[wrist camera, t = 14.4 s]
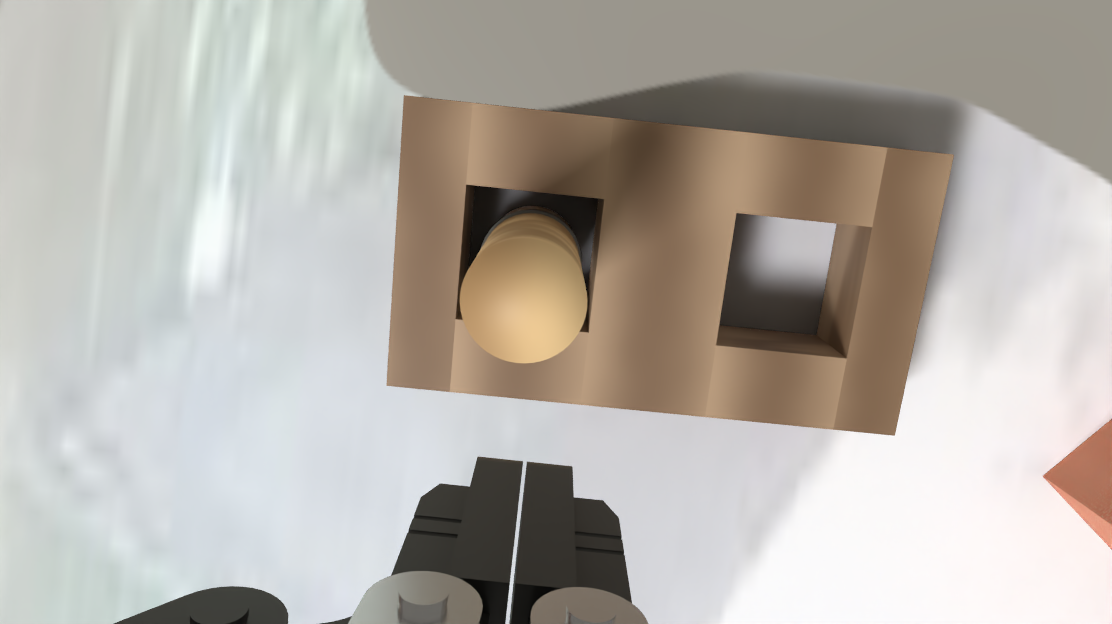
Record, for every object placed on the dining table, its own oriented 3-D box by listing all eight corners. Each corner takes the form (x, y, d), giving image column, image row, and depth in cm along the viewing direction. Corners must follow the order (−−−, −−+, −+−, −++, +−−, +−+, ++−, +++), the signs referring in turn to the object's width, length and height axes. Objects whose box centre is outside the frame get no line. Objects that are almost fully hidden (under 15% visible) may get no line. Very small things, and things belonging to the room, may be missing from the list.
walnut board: (910, 152, 36) (953, 154, 32) (859, 404, 38) (894, 435, 34) (420, 99, 35) (403, 95, 31) (403, 359, 38) (386, 385, 34)
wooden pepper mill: (583, 206, 36) (598, 243, 25) (573, 296, 37) (582, 372, 25) (491, 196, 36) (462, 228, 24) (483, 287, 37) (451, 359, 25)
